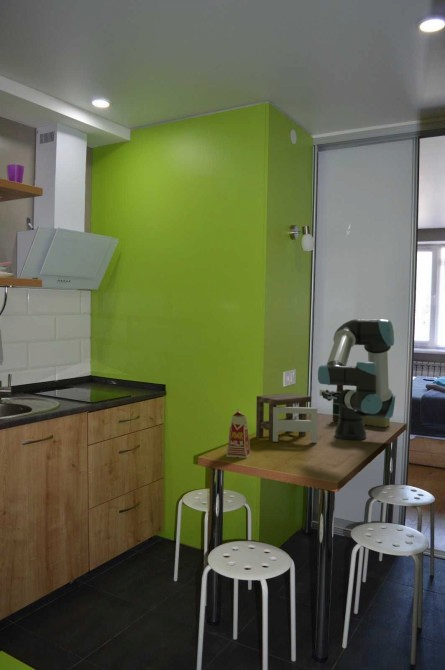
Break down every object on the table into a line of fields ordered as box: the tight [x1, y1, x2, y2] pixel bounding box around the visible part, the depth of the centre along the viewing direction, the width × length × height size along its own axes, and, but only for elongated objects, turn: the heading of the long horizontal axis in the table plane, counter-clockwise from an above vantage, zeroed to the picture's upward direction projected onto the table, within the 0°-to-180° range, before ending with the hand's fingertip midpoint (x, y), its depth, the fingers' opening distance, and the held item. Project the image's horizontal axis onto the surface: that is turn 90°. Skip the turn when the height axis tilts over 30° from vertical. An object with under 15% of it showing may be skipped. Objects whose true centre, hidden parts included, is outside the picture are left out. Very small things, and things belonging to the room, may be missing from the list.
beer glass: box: [293, 403, 299, 420], centre depth 302 cm, size 7×7×15 cm
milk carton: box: [225, 408, 251, 459], centre depth 225 cm, size 9×9×20 cm
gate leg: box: [272, 406, 318, 444], centre depth 249 cm, size 2×20×16 cm, turn 85°
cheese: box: [363, 417, 391, 428], centre depth 295 cm, size 22×10×15 cm, turn 60°
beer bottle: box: [332, 385, 344, 423], centre depth 301 cm, size 8×8×24 cm
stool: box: [255, 392, 312, 442], centre depth 261 cm, size 16×22×20 cm
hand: (321, 392), depth 234 cm, fingers closed
